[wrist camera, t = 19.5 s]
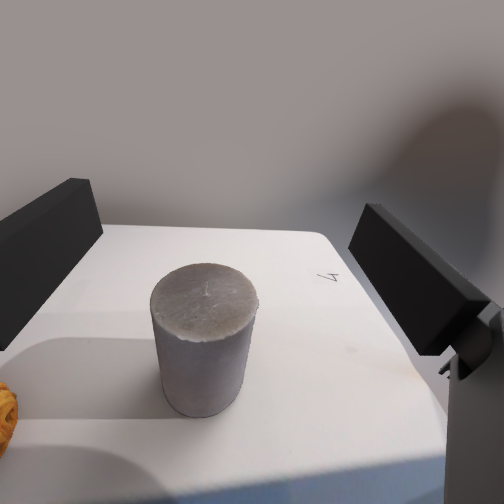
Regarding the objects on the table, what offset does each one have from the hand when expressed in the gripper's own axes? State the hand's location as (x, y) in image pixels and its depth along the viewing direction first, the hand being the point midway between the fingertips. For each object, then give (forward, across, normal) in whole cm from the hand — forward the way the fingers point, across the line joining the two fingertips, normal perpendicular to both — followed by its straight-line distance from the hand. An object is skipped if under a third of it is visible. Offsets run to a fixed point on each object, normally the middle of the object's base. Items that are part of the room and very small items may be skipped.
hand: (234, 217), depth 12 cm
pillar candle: (+5, -2, -25) cm, 25 cm away
